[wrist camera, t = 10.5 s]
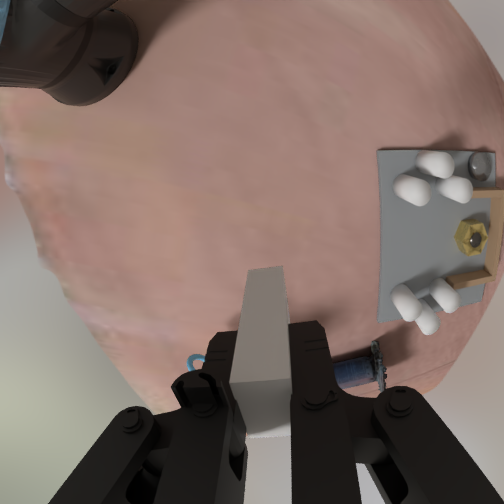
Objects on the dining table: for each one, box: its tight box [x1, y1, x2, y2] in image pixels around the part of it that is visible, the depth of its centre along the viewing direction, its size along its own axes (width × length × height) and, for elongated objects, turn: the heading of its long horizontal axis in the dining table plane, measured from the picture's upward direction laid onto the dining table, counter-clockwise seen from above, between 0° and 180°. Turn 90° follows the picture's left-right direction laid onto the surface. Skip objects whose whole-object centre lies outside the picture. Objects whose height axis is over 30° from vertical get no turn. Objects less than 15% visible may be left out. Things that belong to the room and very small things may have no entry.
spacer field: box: [377, 150, 504, 335], centre depth 32 cm, size 24×20×6 cm
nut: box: [454, 219, 488, 256], centre depth 32 cm, size 4×5×2 cm
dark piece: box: [333, 341, 387, 392], centre depth 41 cm, size 9×8×12 cm
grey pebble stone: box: [468, 152, 492, 181], centre depth 29 cm, size 4×4×1 cm
